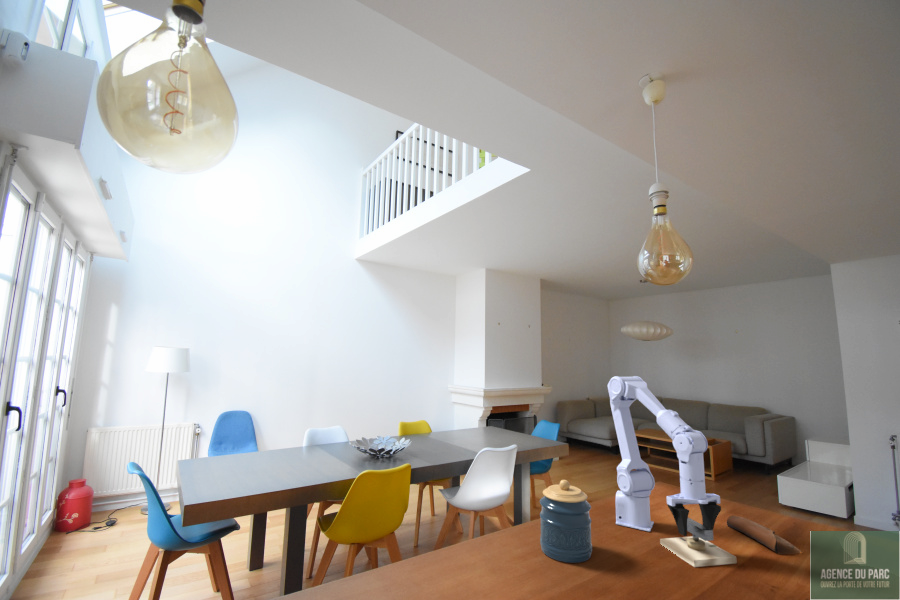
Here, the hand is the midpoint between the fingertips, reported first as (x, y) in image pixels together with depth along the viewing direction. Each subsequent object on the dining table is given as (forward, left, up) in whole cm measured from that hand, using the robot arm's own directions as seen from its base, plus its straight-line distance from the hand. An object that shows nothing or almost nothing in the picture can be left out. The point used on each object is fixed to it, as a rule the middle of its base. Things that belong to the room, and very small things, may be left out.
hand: (695, 533), depth 107 cm
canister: (-28, -19, -5) cm, 34 cm away
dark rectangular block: (0, 0, -2) cm, 2 cm away
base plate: (0, 0, -5) cm, 5 cm away
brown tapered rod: (+15, +22, -6) cm, 27 cm away
